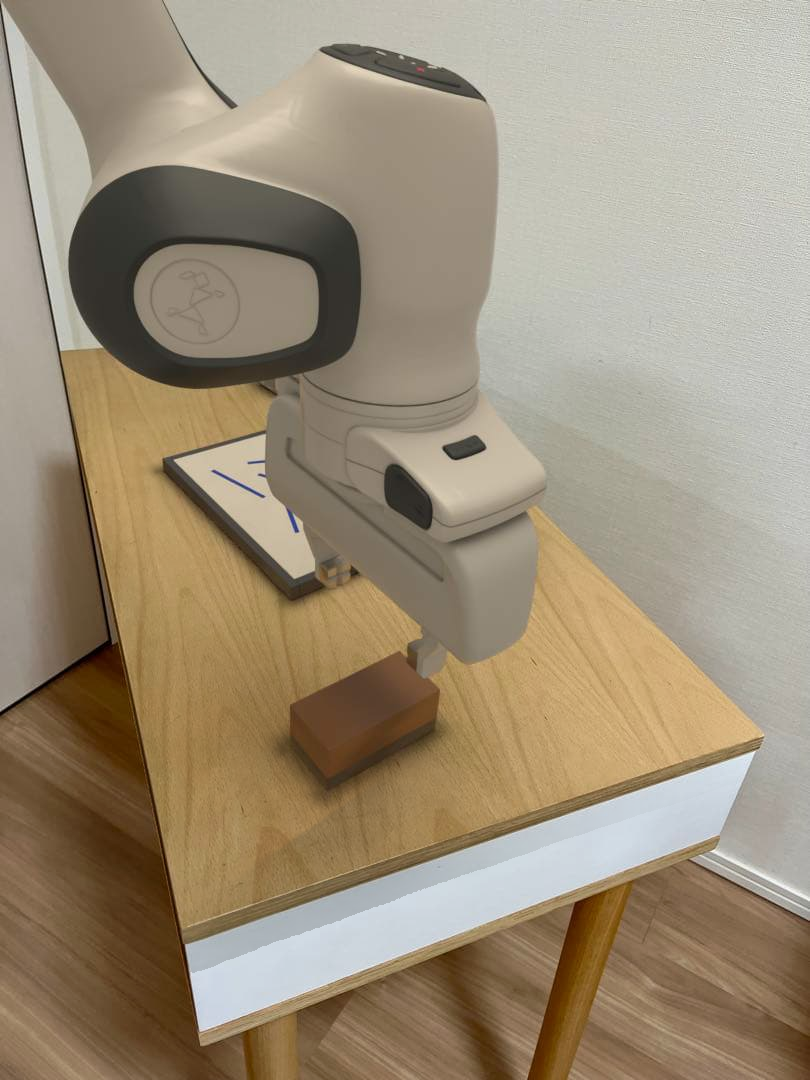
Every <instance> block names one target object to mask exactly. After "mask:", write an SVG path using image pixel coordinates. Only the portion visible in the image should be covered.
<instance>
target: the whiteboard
mask: <svg viewBox="0 0 810 1080" xmlns="http://www.w3.org/2000/svg"><path fill="white" fill-rule="evenodd" d="M265 442H266V429H264V430H260V431H256V432H253V433H249V434H246V435H241V436H238V437H235V438H231V439H228V440H224V441H220V442H217V443H213V444H209V445H205V446H202V447H199V448H196V449H192V450H188V451H184V452H181V453H177V454H174V455H173V454H172V455H170V456H166V457H163V458H161V461H162V468H163V469H162V470H163V472H165V474H167V476H168V477H169V478H170V479H171V480H172V481H173V482H174V483H175V484H176V485H177V486H178V487H179V488H180V489H181V490H182V491H183V492H184V494H186V495H187V496H188V497H189V498H190V499H191V500H192V501H193V502H194V503H195V504H196V505H197V506H198V507H199V508H200V509H201V510H202V511H203V512H204V513H205V514H206V515H207V516H208V517H209V518H210V519H211V520H212V521H213V522H214V524H216V525H217V526H218V528H219V529H221V530H222V532H224V534H225V535H226V536H227V537H228V538H230V540H231V541H232V542H233V543H234V544H235V545H236V546H237V547H238V548H239V549H240V550H241V551H242V552H243V553H244V554H245V556H247V557H248V558H249V559H250V560H251V562H253V563H254V564H255V565H256V566H257V567H258V568H259V569H260V570H261V571H262V572H263V573H264V574H265V576H267V577H268V578H269V579H270V580H271V581H272V582H273V584H275V586H277V587H278V589H279V590H280V591H281V592H283V593H284V595H285V596H286V597H287V598H289V600H290V601H294V600H296V599H297V598H300V597H302V596H304V595H307V594H310V593H312V592H314V591H317V590H319V589H321V588H324V587H326V586H325V585H324V584H323V583H322V582H320V581H319V580H318V579H317V578H316V577H315V558H314V557H313V554H312V551H311V549H310V546H309V543H308V541H307V538H306V535H305V533H304V530H303V522H302V521H301V520H300V519H299V518H298V517H296V516H295V515H294V514H293V513H292V512H291V511H290V510H289V509H287V508H286V507H285V506H284V505H283V504H282V503H281V502H279V501H278V500H277V499H276V498H275V497H274V496H273V495H272V493H271V490H270V488H269V485H268V482H267V479H266V475H265ZM349 571H350V577H351V576H353V575H355V574H358V573H360V572H359V571H357V570H356V569H355V568H354V567H353V566H352V565H351V569H350V570H349Z"/></svg>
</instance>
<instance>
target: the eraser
mask: <svg viewBox="0 0 810 1080" xmlns="http://www.w3.org/2000/svg"><path fill="white" fill-rule="evenodd" d="M407 657H408V656H406V655H405V654H404V653H403V652H402V651H400V650H398V651H396V652H394V653H392V654H390V655H388V656H386V657H384V658H382V659H379V660H378V661H376V662H374V663H372V664H370V665H368V666H366V667H363V668H362V669H359V670H357V671H356V672H353V673H351V674H350V675H348V676H347V675H346V676H345V677H344V678H341V679H339V680H337V681H335V682H334V683H331V684H329V685H327V686H325V687H324V688H321V689H319V690H317V691H315V692H313V693H311V694H309V695H307V696H304V697H303V698H301V699H299V700H297V701H295V702H293V703H290V704H289V734H290V735H289V738H290V739H289V742H290V743H289V744H290V745H289V746H290V748H292V750H293V751H294V753H296V755H297V756H298V757H299V758H300V760H301V761H302V762H303V764H305V766H306V767H307V768H308V769H309V770H310V772H311V773H312V774H313V776H314V777H315V778H316V779H317V780H318V781H319V783H320V784H321V785H322V786H323V788H324V789H325V790H326V791H327V792H329V791H330V790H332V789H334V788H336V787H338V786H339V785H341V784H342V783H344V782H346V781H348V780H350V779H351V778H353V777H355V776H356V775H359V774H361V773H362V772H363V771H366V770H367V769H369V768H370V767H373V766H374V765H375V764H377V763H379V762H381V761H383V760H384V759H386V758H388V757H389V756H391V755H393V754H395V753H396V752H398V751H401V750H402V749H403V748H405V747H407V746H409V745H410V744H412V743H414V742H416V741H418V740H419V739H420V738H422V737H424V736H426V735H429V733H432V732H433V731H435V729H436V723H437V717H438V716H437V715H438V709H439V702H440V695H441V688H440V687H439V686H437V685H436V684H435V683H434V682H433V681H432V680H431V679H430V678H429V677H428V678H422V677H421V676H420V675H419V674H418V673H417V672H416V671H415V670H414V669H413V668H411V667H410V666H409V665H408V664H407V662H406V658H407Z"/></svg>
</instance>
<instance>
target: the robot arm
mask: <svg viewBox="0 0 810 1080" xmlns="http://www.w3.org/2000/svg"><path fill="white" fill-rule="evenodd" d="M0 2H1V4H2V6H3V7H4V9H5V10H6V11H7V13H8V15H9V16H10V18H11V19H12V21H13V22H14V24H15V26H16V28H17V29H18V30H19V32H20V33H21V35H22V36H23V38H24V40H25V42H26V43H27V45H28V46H29V48H30V49H31V51H32V52H33V54H34V56H35V57H36V59H37V60H38V62H39V64H40V66H41V67H42V68H43V70H44V72H45V73H46V75H47V76H48V78H49V79H50V81H51V82H52V84H53V86H54V87H55V89H56V91H57V92H58V93H59V95H60V97H61V98H62V100H63V101H64V103H65V105H66V106H67V108H68V109H69V112H70V113H71V115H72V116H73V118H74V120H75V122H76V124H77V126H78V128H79V131H80V133H81V137H82V140H83V142H84V145H85V148H86V149H85V150H86V154H87V158H88V163H89V168H90V175H91V184H90V185H89V188H88V191H87V193H86V195H85V197H84V201H83V203H82V206H81V207H80V211H79V214H78V216H77V218H76V222H75V226H74V228H73V231H72V234H71V237H70V241H69V247H68V256H67V258H68V259H67V269H68V280H69V285H70V290H71V295H72V297H73V300H74V303H75V306H76V308H77V311H78V312H79V315H80V316H81V319H82V320H83V322H84V324H85V325H86V328H87V329H88V330H89V332H90V333H91V335H92V336H93V337H94V338H95V340H96V341H97V342H98V343H99V344H100V345H101V346H102V348H104V350H105V351H106V352H107V353H108V354H109V355H111V356H112V357H113V358H114V359H115V360H116V361H118V362H119V363H120V364H122V365H123V366H125V367H126V368H127V369H129V370H131V371H133V372H135V373H136V374H138V375H140V376H142V377H144V378H146V379H149V380H151V381H153V382H156V383H159V384H162V385H166V386H170V387H173V388H179V389H189V390H206V389H208V390H209V389H219V388H226V387H233V386H241V385H249V384H254V383H258V382H260V381H266V380H272V379H277V397H275V398H273V399H272V401H271V402H270V404H269V407H268V412H267V417H266V427H265V430H266V442H265V475H266V479H267V482H268V485H269V488H270V490H271V493H272V495H273V496H274V497H275V498H276V499H277V500H278V501H279V502H281V503H282V504H283V505H284V506H285V507H286V508H287V509H289V510H290V511H291V512H292V513H293V514H294V515H295V516H296V517H298V518H299V519H300V520H301V521H302V522H303V530H304V533H305V535H306V538H307V541H308V543H309V546H310V549H311V551H312V554H313V557H314V558H315V577H316V578H317V579H318V580H319V581H320V582H322V583H323V584H324V585H325V586H324V587H326V588H327V589H328V590H329V591H333V590H336V589H337V588H338V587H343V586H344V585H347V584H348V583H349V582H350V579H351V576H350V571H349V570H350V569H351V565H352V566H353V567H354V568H355V569H356V570H357V571H359V572H358V573H359V574H360V575H362V576H363V577H364V578H365V579H366V580H368V582H370V583H371V584H372V585H373V586H374V587H375V588H376V589H378V590H379V592H381V593H382V594H383V595H384V596H386V597H387V599H389V600H390V602H392V603H394V605H396V607H398V608H399V609H400V610H401V611H402V612H403V613H405V614H406V615H407V616H408V617H409V618H410V619H412V621H414V622H415V623H416V624H417V625H418V626H420V634H421V635H422V636H421V638H416V639H414V640H412V641H410V642H408V643H407V645H406V655H407V656H406V657H407V658H406V662H407V664H408V665H409V666H410V667H411V668H413V669H414V670H415V671H416V672H417V673H418V674H419V675H420V676H421V677H422V678H429V677H432V676H434V675H435V674H437V673H439V672H441V671H442V670H443V669H444V667H445V666H446V662H447V654H448V652H449V653H450V654H451V655H452V656H453V657H454V658H455V659H456V660H457V661H459V662H460V663H462V664H463V665H466V666H472V665H475V664H478V663H482V662H485V661H486V660H490V659H491V658H493V657H496V656H498V655H499V654H501V653H503V652H505V651H506V650H508V649H509V648H511V647H512V646H514V645H515V644H517V643H518V642H519V641H520V640H521V639H522V638H523V637H524V635H525V633H526V631H527V628H528V626H529V625H528V624H529V621H530V618H531V617H530V616H531V612H532V607H533V601H534V596H535V589H536V582H537V581H536V580H537V573H538V564H539V563H538V562H539V539H538V534H537V529H536V527H535V524H534V521H533V519H532V518H531V516H530V514H529V512H528V511H529V510H531V509H532V508H533V507H535V506H537V505H538V504H540V503H541V502H542V501H543V500H544V498H545V495H546V492H547V487H548V474H547V472H546V469H545V468H544V466H543V464H542V463H541V462H540V461H539V459H538V458H537V457H536V456H535V455H534V454H533V453H532V451H530V450H529V449H528V448H527V447H526V445H524V443H523V442H522V441H521V440H520V439H519V438H518V437H517V436H516V434H515V433H514V432H513V431H512V430H511V428H510V427H509V426H508V425H507V423H506V422H505V421H504V420H503V419H502V417H501V416H500V415H499V413H498V412H497V411H496V409H495V408H494V406H493V405H492V402H491V401H490V400H489V398H488V397H487V396H486V394H484V393H483V392H482V391H481V390H479V384H480V383H479V381H480V373H481V359H480V352H479V347H478V342H477V339H478V338H477V337H478V336H477V332H478V331H477V330H478V323H479V318H480V315H481V312H482V310H483V309H482V308H483V306H484V304H485V302H486V299H487V297H488V295H489V292H490V288H491V284H492V275H493V265H494V257H495V248H496V247H495V246H496V237H497V236H496V235H497V224H498V223H497V222H498V210H499V189H500V188H499V187H500V186H499V184H500V183H499V182H500V180H499V179H500V158H499V157H500V155H499V154H500V153H499V152H500V150H499V137H498V127H497V122H496V118H495V113H494V111H493V109H492V108H491V106H490V105H489V103H488V101H487V99H486V97H484V95H483V93H481V92H480V91H479V90H478V89H477V88H476V87H475V86H474V85H473V84H472V83H470V82H469V81H468V80H467V79H465V78H464V77H462V76H461V75H459V74H458V73H456V72H454V71H451V70H449V69H447V68H445V67H443V66H441V67H439V66H437V65H434V64H431V63H429V62H427V61H426V60H423V59H419V58H416V57H413V56H409V55H406V54H403V53H399V52H395V51H393V50H387V49H384V48H379V47H375V46H371V45H361V44H357V43H333V44H332V45H325V46H320V48H318V49H316V50H315V52H314V53H313V54H312V55H311V57H310V58H309V59H308V60H307V61H306V63H304V64H303V65H301V66H300V68H298V69H296V70H295V71H293V72H292V73H291V74H290V75H288V76H287V77H285V78H283V80H281V81H279V82H278V83H277V84H275V85H273V86H272V87H270V88H269V89H266V90H265V91H263V92H262V93H261V94H259V95H257V96H255V97H253V98H251V99H250V100H248V101H246V102H244V103H241V104H240V105H238V104H237V102H235V101H233V99H231V98H230V97H229V96H228V95H227V94H226V93H225V92H224V91H223V90H221V88H219V86H217V85H216V84H215V83H214V82H213V81H212V80H211V79H210V78H209V77H208V75H206V73H205V72H204V71H203V69H202V68H201V67H200V65H199V64H198V62H197V61H196V59H195V57H194V56H193V54H192V52H191V51H190V49H189V48H188V45H187V44H186V42H185V40H184V38H183V37H182V35H181V32H180V31H179V28H178V27H177V25H176V23H175V21H174V19H173V17H172V15H171V13H170V11H169V9H168V7H167V5H166V3H165V1H164V0H0Z"/></svg>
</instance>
